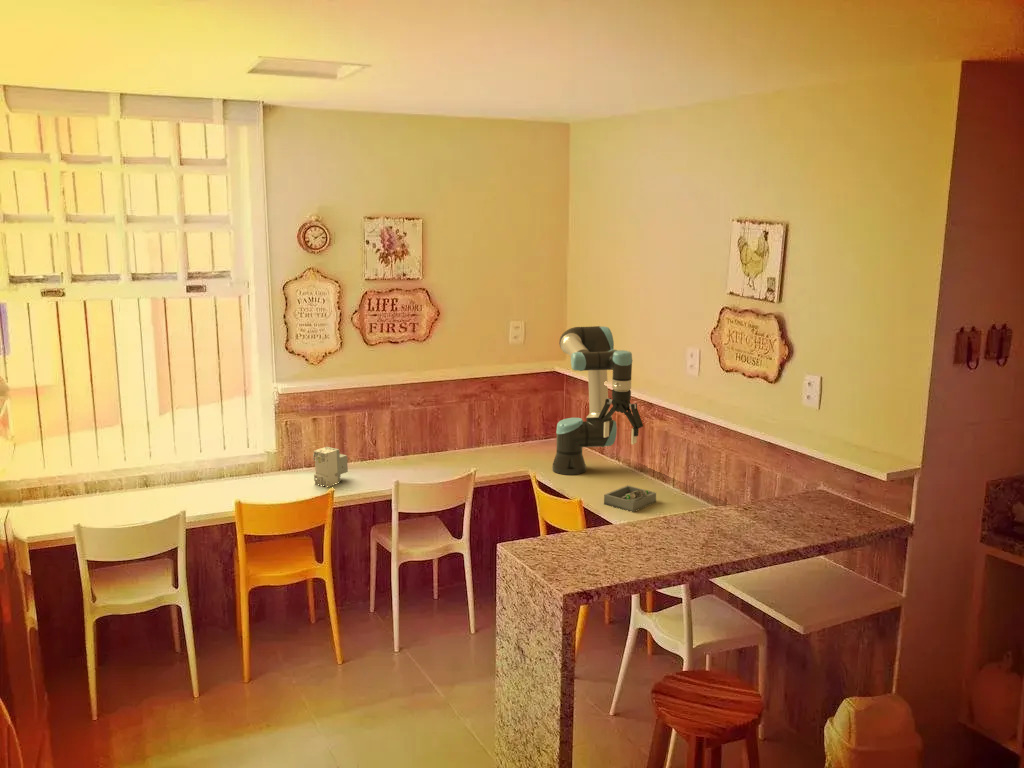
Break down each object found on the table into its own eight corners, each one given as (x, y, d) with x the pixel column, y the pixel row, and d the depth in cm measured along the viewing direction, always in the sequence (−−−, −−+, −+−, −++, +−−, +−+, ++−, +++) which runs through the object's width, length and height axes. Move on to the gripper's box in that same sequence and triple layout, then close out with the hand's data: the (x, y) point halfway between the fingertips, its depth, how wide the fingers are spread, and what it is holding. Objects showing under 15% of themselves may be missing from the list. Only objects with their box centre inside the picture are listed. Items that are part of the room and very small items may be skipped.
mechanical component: (633, 499, 361) (649, 495, 353) (614, 504, 355) (630, 500, 347) (631, 492, 361) (647, 488, 353) (612, 497, 355) (628, 492, 347)
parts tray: (627, 494, 368) (627, 485, 367) (655, 502, 358) (656, 492, 358) (604, 504, 356) (604, 494, 355) (632, 512, 347) (633, 502, 346)
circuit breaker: (350, 479, 388) (349, 446, 385) (326, 487, 377) (325, 453, 374) (338, 476, 393) (337, 443, 390) (314, 484, 381) (312, 450, 378)
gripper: (590, 386, 361) (589, 436, 366) (642, 396, 345) (640, 448, 350) (601, 382, 366) (600, 432, 371) (653, 392, 350) (650, 444, 355)
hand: (619, 440), depth 361 cm, fingers open, 13 cm apart
